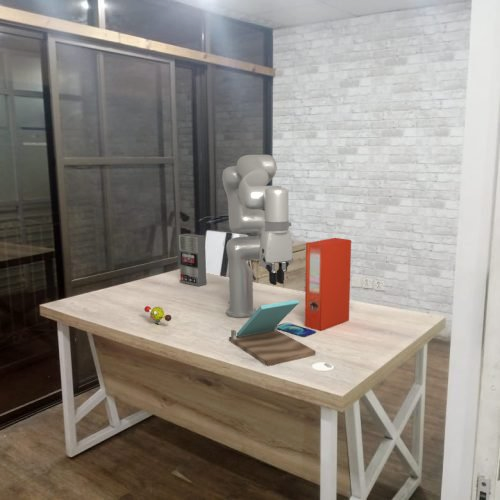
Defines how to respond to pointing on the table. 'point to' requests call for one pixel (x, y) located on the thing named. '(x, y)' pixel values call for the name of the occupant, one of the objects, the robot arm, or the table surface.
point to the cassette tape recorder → (192, 259)
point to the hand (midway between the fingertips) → (276, 283)
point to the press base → (271, 347)
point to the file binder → (327, 283)
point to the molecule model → (157, 314)
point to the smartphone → (295, 329)
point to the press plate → (267, 318)
